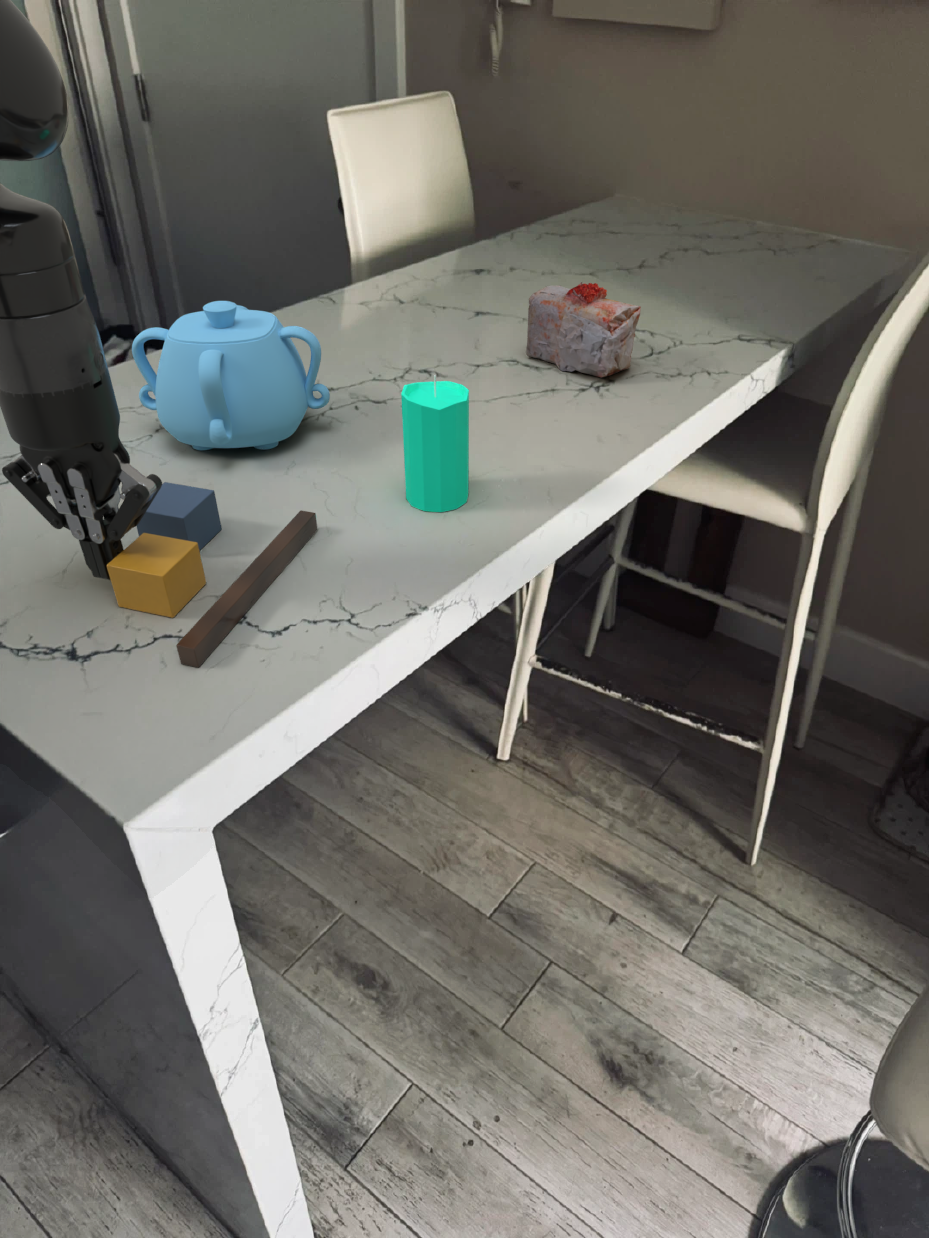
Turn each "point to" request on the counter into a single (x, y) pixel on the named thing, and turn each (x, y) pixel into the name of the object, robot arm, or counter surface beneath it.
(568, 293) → the food item
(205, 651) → the straightedge
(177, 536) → the slate block
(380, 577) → the counter surface
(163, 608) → the ochre block
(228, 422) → the decorative pot
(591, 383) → the counter surface
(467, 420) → the candle
